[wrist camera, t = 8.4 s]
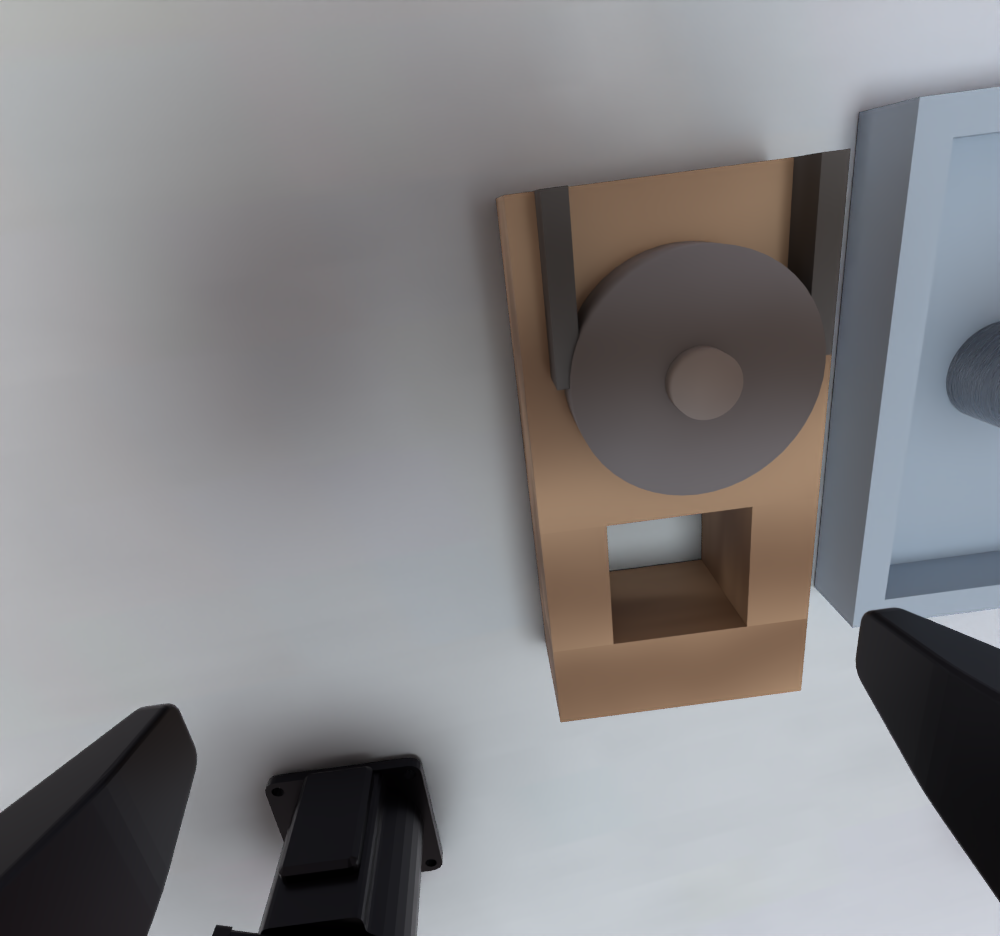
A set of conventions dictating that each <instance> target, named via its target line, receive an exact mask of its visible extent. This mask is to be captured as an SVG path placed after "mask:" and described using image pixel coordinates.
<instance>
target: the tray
mask: <svg viewBox="0 0 1000 936" xmlns="http://www.w3.org/2000/svg"><path fill="white" fill-rule="evenodd" d="M999 321H1000V87H993V88H985V89H977V90H970V91H962V92H955V93H947V94H939V95H932V96H924V97H918V98H914V99H910V100H906V101H902V102H899V103H895V104H891V105H887V106H883V107H879V108H875V109H871V110H867V111H863V112H859V123H858V134H857V144H856V155H855V165H854V176H853V186H852V197H851V208H850V218H849V229H848V239H847V250H846V260H845V271H844V282H843V292H842V303H841V313H840V324H839V334H838V345H837V355H836V366H835V377H834V387H833V398H832V408H831V419H830V429H829V440H828V451H827V461H826V472H825V482H824V493H823V503H822V514H821V524H820V535H819V546H818V556H817V567H816V577H815V588H816V589H817V590H818V591H819V592H820V593H821V594H822V595H823V597H824V598H825V599H826V600H827V601H828V602H829V603H830V604H831V605H832V606H833V607H834V608H835V609H836V610H837V612H838V613H839V614H840V615H841V616H842V617H843V618H844V619H845V620H846V621H847V622H848V623H849V624H850V625H851V627H852V628H853V627H860V623H861V619H862V616H863V615H864V614H865V613H866V612H868V611H870V610H877V609H884V608H892V607H897V608H902V609H904V610H907V611H909V612H912V613H914V614H916V615H919V616H921V617H924V618H929V617H937V616H944V615H952V614H959V613H967V612H975V611H982V610H990V609H997V608H1000V428H998V427H996V426H993V425H991V424H988V423H986V422H983V421H981V420H978V419H976V418H973V417H971V416H968V415H966V414H963V413H962V412H960V411H958V410H957V409H956V408H955V407H954V406H953V405H952V403H951V402H950V400H949V397H948V395H947V390H946V377H947V372H948V369H949V366H950V363H951V361H952V359H953V357H954V356H955V354H956V352H957V351H958V350H959V348H960V347H961V346H962V345H963V343H964V342H965V341H966V340H967V339H968V338H970V337H971V336H972V335H973V334H975V333H976V332H977V331H979V330H980V329H982V328H984V327H986V326H988V325H990V324H993V323H996V322H999Z"/></svg>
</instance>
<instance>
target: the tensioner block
mask: <svg viewBox="0 0 1000 936" xmlns="http://www.w3.org/2000/svg"><path fill="white" fill-rule="evenodd" d="M849 159H850V149H844V150H837V151H829V152H822V153H816V154H810V155H804V156H798V157H792V158H784V159H776V160H769V161H761V162H754V163H746V164H738V165H731V166H723V167H715V168H708V169H700V170H692V171H685V172H677V173H669V174H662V175H654V176H646V177H639V178H631V179H623V180H616V181H608V182H601V183H593V184H585V185H578V186H570V187H568V186H561V187H554V188H546V189H539V190H536V191H532V192H524V193H516V194H509V195H503V196H501V197H499V198H497V199H496V205H497V214H498V223H499V232H500V241H501V249H502V258H503V267H504V276H505V285H506V294H507V303H508V312H509V320H510V329H511V338H512V347H513V356H514V365H515V374H516V383H517V391H518V400H519V409H520V418H521V427H522V436H523V445H524V454H525V462H526V471H527V480H528V489H529V498H530V507H531V516H532V525H533V533H534V542H535V551H536V560H537V569H538V578H539V587H540V596H541V604H542V613H543V622H544V631H545V640H546V647H547V652H548V657H549V663H550V668H551V673H552V679H553V684H554V690H555V695H556V700H557V706H558V711H559V716H560V722H567V721H574V720H582V719H589V718H597V717H605V716H612V715H620V714H627V713H635V712H642V711H650V710H657V709H665V708H673V707H680V706H688V705H695V704H703V703H710V702H718V701H725V700H733V699H741V698H748V697H756V696H763V695H771V694H778V693H786V692H793V691H801V684H802V673H803V662H804V651H805V640H806V629H807V618H808V607H809V596H810V585H811V574H812V564H813V553H814V542H815V531H816V520H817V509H818V498H819V487H820V476H821V465H822V454H823V443H824V432H825V421H826V410H827V400H828V389H829V378H830V367H831V356H832V345H833V334H834V323H835V312H836V301H837V290H838V279H839V268H840V258H841V247H842V236H843V225H844V214H845V203H846V192H847V181H848V170H849ZM700 513H702V555H701V560H695V561H687V562H679V563H672V564H664V565H657V566H649V567H642V568H634V569H626V570H619V571H611V572H609V560H608V543H607V526H609V525H617V524H625V523H632V522H640V521H647V520H655V519H663V518H670V517H678V516H685V515H693V514H700Z"/></svg>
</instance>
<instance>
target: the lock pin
mask: <svg viewBox="0 0 1000 936" xmlns="http://www.w3.org/2000/svg"><path fill="white" fill-rule="evenodd" d="M946 390H947V395H948V397H949V400H950V402H951V403H952V405H953V406H954V407H955V408H956V409H957V410H958V411H960V412H962V413H963V414H966V415H968V416H971V417H973V418H976V419H978V420H981V421H983V422H986V423H988V424H991V425H993V426H996V427H998V428H1000V321H999V322H996V323H993V324H990V325H988V326H986V327H984V328H982V329H980V330H979V331H977V332H976V333H975V334H973V335H972V336H971V337H970V338H968V339H967V340H966V341H965V342H964V343H963V345H962V346H961V347H960V348H959V350H958V351H957V352H956V354H955V356H954V357H953V359H952V361H951V363H950V366H949V369H948V372H947V377H946Z"/></svg>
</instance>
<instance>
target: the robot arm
mask: <svg viewBox="0 0 1000 936" xmlns="http://www.w3.org/2000/svg"><path fill="white" fill-rule="evenodd" d="M856 669H857V673H858V676H859V678H860V680H861V682H862V684H863V686H864V688H865V690H866V691H867V693H868V695H869V697H870V698H871V700H872V702H873V704H874V706H875V707H876V709H877V711H878V713H879V714H880V716H881V718H882V720H883V722H884V723H885V725H886V727H887V729H888V730H889V732H890V734H891V736H892V738H893V739H894V741H895V743H896V745H897V746H898V748H899V750H900V752H901V754H902V755H903V757H904V759H905V761H906V762H907V764H908V766H909V768H910V770H911V771H912V773H913V775H914V776H915V778H916V780H917V781H918V783H919V785H920V786H921V788H922V790H923V791H924V793H925V794H926V796H927V797H928V799H929V800H930V802H931V803H932V805H933V806H934V808H935V809H936V811H937V812H938V814H939V815H940V817H941V818H942V820H943V821H944V823H945V824H946V825H947V827H948V828H949V830H950V831H951V833H952V834H953V835H954V837H955V838H956V840H957V841H958V843H959V844H960V846H961V847H962V848H963V850H964V851H965V853H966V854H967V856H968V857H969V859H970V860H971V861H972V863H973V864H974V866H975V867H976V869H977V870H978V872H979V873H980V874H981V876H982V877H983V879H984V880H985V882H986V883H987V884H988V886H989V887H990V889H991V890H992V892H993V893H994V895H995V896H996V897H997V899H998V900H999V902H1000V649H999V648H996V647H994V646H991V645H989V644H986V643H984V642H982V641H979V640H977V639H974V638H972V637H970V636H967V635H965V634H962V633H960V632H957V631H955V630H953V629H950V628H948V627H945V626H943V625H941V624H938V623H936V622H933V621H931V620H928V619H926V618H924V617H921V616H919V615H916V614H914V613H912V612H909V611H907V610H904V609H902V608H897V607H892V608H884V609H877V610H870V611H868V612H866V613H865V614H864V615H863V616H862V619H861V623H860V631H859V638H858V646H857V653H856ZM196 765H197V753H196V749H195V746H194V743H193V741H192V738H191V736H190V734H189V731H188V729H187V727H186V724H185V722H184V720H183V717H182V715H181V713H180V711H179V709H178V708H177V707H176V706H175V705H173V704H160V705H152V706H145V707H142V708H139V709H137V710H136V711H134V712H133V713H132V714H130V715H129V716H128V717H126V718H125V719H124V720H122V721H121V722H120V723H119V724H117V725H116V726H115V727H113V728H112V729H111V730H109V731H108V732H107V733H105V734H104V735H103V736H101V737H100V738H99V739H97V740H96V741H95V742H93V743H92V744H91V745H89V746H88V747H87V748H85V749H84V750H83V751H82V752H80V753H79V754H78V755H76V756H75V757H74V758H72V759H71V760H70V761H68V762H67V763H66V764H64V765H63V766H62V767H60V768H59V769H58V770H56V771H55V772H54V773H52V774H51V775H50V776H48V777H47V778H46V779H44V780H43V781H42V782H41V783H39V784H38V785H37V786H35V787H34V788H33V789H31V790H30V791H29V792H27V793H26V794H25V795H23V796H22V797H21V798H19V799H18V800H17V801H15V802H14V803H13V804H11V805H10V806H9V807H7V808H6V809H5V810H4V811H2V812H1V813H0V936H147V934H148V932H149V929H150V926H151V924H152V921H153V918H154V915H155V912H156V910H157V907H158V904H159V901H160V898H161V895H162V892H163V889H164V885H165V882H166V879H167V875H168V872H169V868H170V864H171V861H172V857H173V853H174V849H175V846H176V842H177V838H178V834H179V831H180V827H181V823H182V819H183V816H184V812H185V808H186V804H187V801H188V797H189V793H190V789H191V785H192V782H193V778H194V774H195V770H196ZM407 770H412V771H407ZM265 791H266V796H267V798H268V801H269V804H270V806H271V809H272V812H273V814H274V817H275V819H276V822H277V825H278V827H279V830H280V833H281V835H282V838H283V841H284V845H283V848H282V852H281V855H280V859H279V862H278V866H277V869H276V873H275V876H274V880H273V883H272V887H271V890H270V894H269V897H268V901H267V904H266V907H265V911H264V914H263V918H262V921H261V925H260V928H259V932H258V933H250V932H243V931H235V930H232V927H230V926H222V925H216V927H215V930H214V932H213V935H212V936H417V925H418V910H419V896H420V881H421V872H424V871H431V870H436V869H438V868H440V867H441V865H442V854H443V853H442V848H441V844H440V840H439V835H438V831H437V827H436V823H435V818H434V814H433V810H432V805H431V801H430V797H429V792H428V788H427V784H426V780H425V775H424V771H423V767H422V764H421V762H420V761H419V760H417V759H415V758H404V759H396V760H389V761H381V762H374V763H366V764H358V765H351V766H343V767H336V768H328V769H321V770H313V771H306V772H298V773H290V774H283V775H276V776H273V777H272V778H270V780H269V782H268V784H267V787H266V790H265Z"/></svg>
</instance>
